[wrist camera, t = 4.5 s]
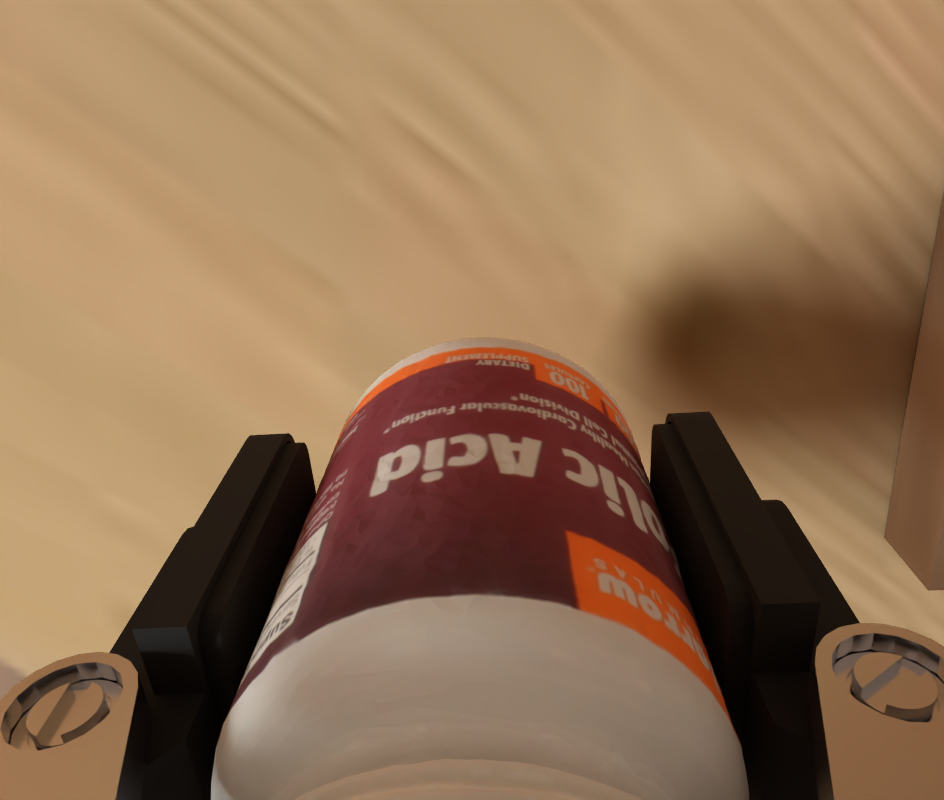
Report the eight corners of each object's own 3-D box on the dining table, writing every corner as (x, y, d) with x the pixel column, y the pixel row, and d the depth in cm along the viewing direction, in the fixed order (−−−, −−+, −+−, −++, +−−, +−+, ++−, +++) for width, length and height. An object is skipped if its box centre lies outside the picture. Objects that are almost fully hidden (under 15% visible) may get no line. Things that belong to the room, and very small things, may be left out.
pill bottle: (683, 377, 11) (1062, 1054, 4) (574, 615, 13) (683, 1371, 6) (373, 288, 11) (104, 861, 3) (308, 549, 13) (48, 1280, 5)
